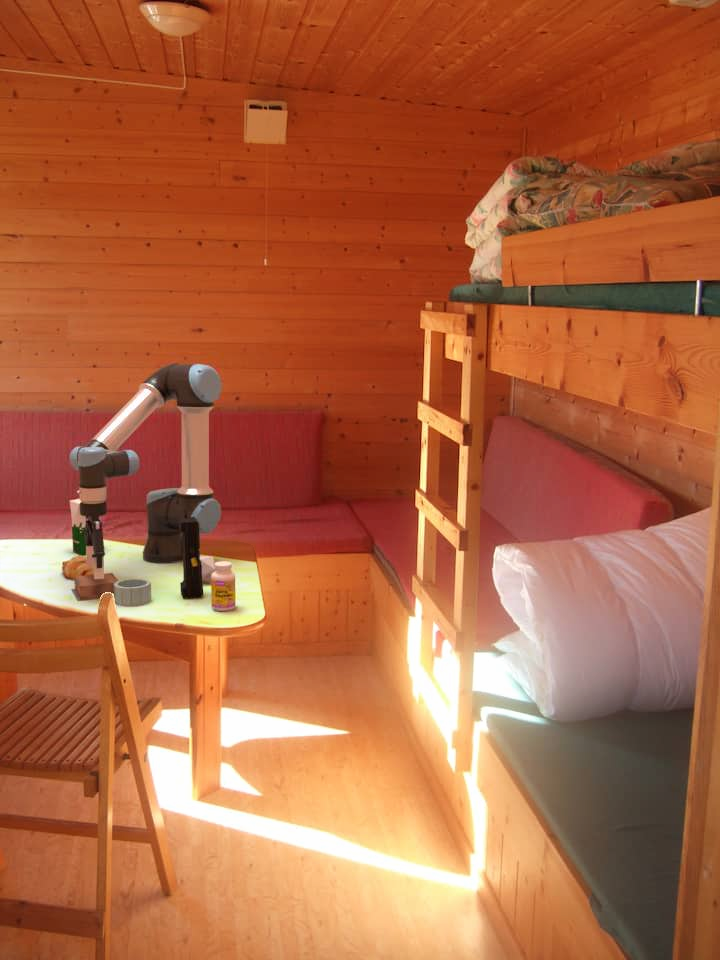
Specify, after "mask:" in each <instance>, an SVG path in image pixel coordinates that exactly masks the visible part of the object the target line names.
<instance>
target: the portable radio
mask: <svg viewBox="0 0 720 960" xmlns="http://www.w3.org/2000/svg"><path fill="white" fill-rule="evenodd" d="M184 510H185V515H184V518H179V528H180V530H181V532H182V539H183V560H182V565H183V566H182V567H183V568H182V569H183V571H182V572H183V576H182V577H183V580H182V582H180V595H181V597H182V599H200V598H203V596H205V592H204V585H203V584H204V583H202V564H201V561H200V556H201V553H200V549H201V545H200V543H201V541H200V533H199V522H198V520H197V519H196V518H195V517H187V515H186V510H187V509H184Z"/></svg>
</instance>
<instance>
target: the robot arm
mask: <svg viewBox="0 0 720 960" xmlns="http://www.w3.org/2000/svg"><path fill="white" fill-rule="evenodd" d="M221 393H222V381H221V377H220V375H219V373H218V372H217V371H216V369H215V368H213V367H212V366H210V365H207V364H202V363H179V362H174V363H168V364H165V365H164V366H162V367H160V368H158V369H157V370H155V371H154V372H152V374H150V375H149V376H148V377H146V378H145V379H144V380H143V382H142V383H141V384H139V386H138V391H137V392H136V393H135V394H134V396H133V397H132V398H131V399H130V400H129V401H127V402H126V403H125V405H124V406H123V407H121V409H120V410H119V411H118V412H117V413H116V414H115V415H114V416H113V417H112V418H111V419H110V420H109V421H108V422H107V423H106V424H105V425H104V426H103V427H102V428H101V429H100V430H99V431H98V433H96V434H95V436H94V437H92V439H90V440H89V442H88V443H87V444H86V445H81V446H76V447H74V448H73V449H72V450H71V452H70V453H69V463H70V464H69V465H71V467H72V468H73V470H76V471H78V488H79V490H77V491H76V493H77V494H78V495H79V499H80V501H82V502H80V515H82V516H85V517H86V524H85V539H84V541H85V542H86V543H85V544H86V555H85V557H86V563H87V568H94V579H104V574H105V562H104V561H105V560H104V559H105V558H104V557H105V556H106V552H105V543H104V533H103V522H102V521H101V519H100V520H99V516H100V517H101V516H102V517H103V516H105V515H107V513H108V510H107V508H108V507H107V506H108V505H107V479H113V478H119V477H128V476H131V475H134V474H135V473H137V472H138V470H139V468H140V457H139V456H138V454H137V453H136V452H135V451H134V450H132V449H122V450H118V449H119V448H120V447H121V446H122V444H123V443H125V442H126V440H128V438H129V437H130V436H131V435H132V434H133V433H134V432H135V431H136V430H137V429H138V428H139V427H140V426H141V425H142V424H143V423H144V421H145V420H146V419H148V417H149V416H150V415H151V414H152V413H153V412H154V411H155V410H156V409H157V408H161V407H163V406H164V405H165V404H166V403H167V402H169V401H173V400H176V407H177V408H178V409H179V411H180V412H181V487H172V488H171V487H170V488H161V489H157V490H152V491H149V492H148V494H146V504H145V505H146V506H145V507H146V525H147V526H146V527H147V536H146V541H145V543H144V548H143V552H142V559H143V560H144V561H146V562H149V563H155V564H156V563H157V564H158V563H159V564H167V563H176V562H181V561H182V562H183V539H182V532H181V530H180V528H179V518H184V515H185V510H184V509H187V510H186V515H187V517H195V518H196V519H197V520H198V522H199V535H202V534H204V535H205V534H209V533H210V532H212V531H213V530H214V529H216V526H218V524H219V521H220V519H221V515H222V508H221V504H220V503H219V501H218V500H216V498H214V490H213V489H212V488H211V487H210V486H209V485H210V484H209V483H210V481H209V480H210V479H209V477H210V474H209V473H210V472H209V471H210V470H209V469H210V467H209V466H210V456H209V455H210V452H209V451H210V447H209V446H210V444H209V443H210V436H209V435H210V428H209V427H210V424H209V423H210V411H211V410H213V409H214V407H215V403H214V402H216V401H217V400H218V399H219V397H220V395H221ZM87 545H88V546H87Z"/></svg>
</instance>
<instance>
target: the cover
mask: <svg viewBox="0 0 720 960" xmlns="http://www.w3.org/2000/svg"><path fill="white" fill-rule="evenodd" d="M74 579H75V580H74V589H75V591H76V592H77V594H78V596H79V598H80V600H85V599H93V598H100V597H101V595H102V594H103V593H105V592H111V593H113V594H114V583H115V582H117V581H119V580H118V579H117V577H116V576H115V574H114V573H113V572H106V573H105V572H104V579H94V575H86V576H76V577H74Z"/></svg>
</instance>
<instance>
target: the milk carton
mask: <svg viewBox="0 0 720 960" xmlns="http://www.w3.org/2000/svg"><path fill="white" fill-rule="evenodd" d="M80 502H82V501H80V498H76V499H71V500H69V507H70V513H71V514H70V517H71V534H72V535H71V536H72V552H73V553H76V554H77V555H81V556H86V544H85V543H86V542H85V541H84V539H85V524H86V517H85V516H82V515H80ZM99 520H100V521H101V516H99ZM87 546H88V545H87Z"/></svg>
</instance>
